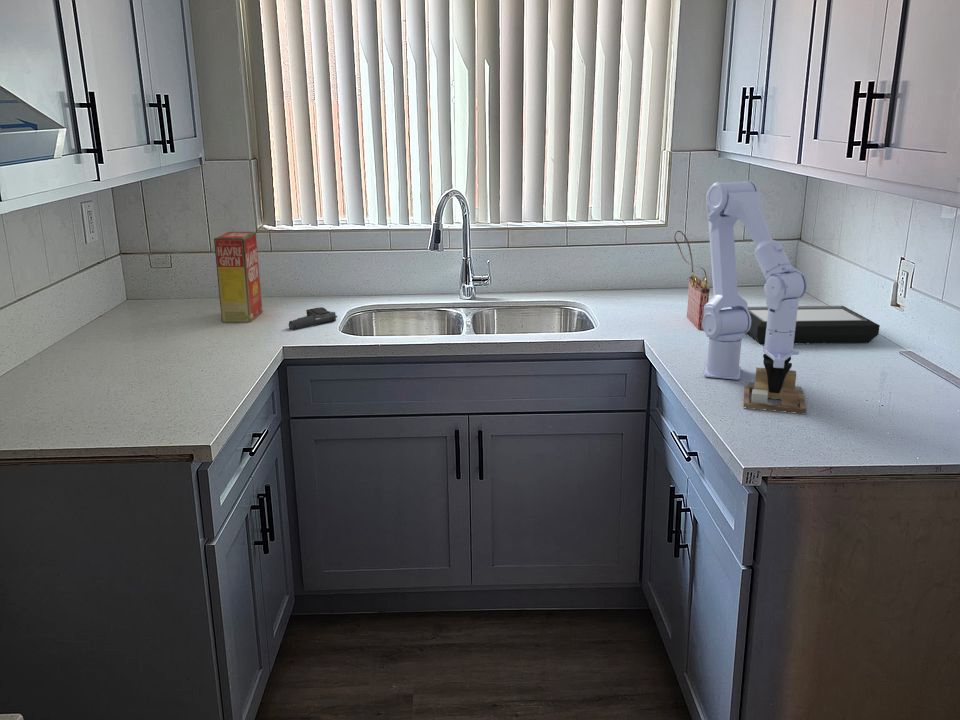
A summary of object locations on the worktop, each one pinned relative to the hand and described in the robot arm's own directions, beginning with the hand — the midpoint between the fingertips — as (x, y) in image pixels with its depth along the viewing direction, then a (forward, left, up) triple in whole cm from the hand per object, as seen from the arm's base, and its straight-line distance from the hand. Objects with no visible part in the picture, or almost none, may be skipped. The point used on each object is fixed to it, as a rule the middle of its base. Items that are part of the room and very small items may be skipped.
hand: (773, 390), depth 173 cm
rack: (+3, 0, -2) cm, 3 cm away
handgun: (-29, -129, -2) cm, 132 cm away
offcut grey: (+6, -3, -2) cm, 7 cm away
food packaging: (-28, -151, -2) cm, 154 cm away
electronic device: (-54, +9, -2) cm, 55 cm away
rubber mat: (-5, +1, -2) cm, 6 cm away
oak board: (0, 0, -2) cm, 2 cm away
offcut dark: (+6, +3, -2) cm, 7 cm away
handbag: (-60, -22, -2) cm, 64 cm away
